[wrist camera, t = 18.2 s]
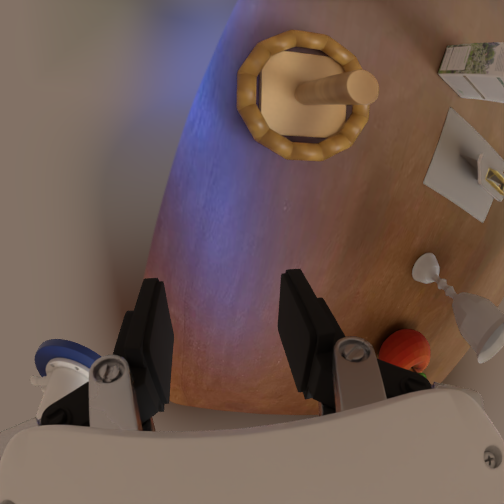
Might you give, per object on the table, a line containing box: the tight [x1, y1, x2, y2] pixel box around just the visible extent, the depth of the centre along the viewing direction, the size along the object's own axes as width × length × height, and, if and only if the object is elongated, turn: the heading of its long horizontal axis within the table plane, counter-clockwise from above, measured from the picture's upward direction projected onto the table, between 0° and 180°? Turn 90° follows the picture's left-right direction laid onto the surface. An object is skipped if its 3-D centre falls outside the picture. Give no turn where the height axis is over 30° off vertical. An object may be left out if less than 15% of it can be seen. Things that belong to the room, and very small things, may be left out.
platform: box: [423, 107, 504, 223], centre depth 30 cm, size 12×18×7 cm, turn 71°
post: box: [259, 51, 379, 138], centre depth 21 cm, size 9×9×13 cm
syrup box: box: [438, 42, 504, 103], centre depth 19 cm, size 6×6×14 cm
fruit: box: [379, 329, 430, 378], centre depth 41 cm, size 10×10×10 cm
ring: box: [237, 30, 370, 161], centre depth 25 cm, size 14×14×2 cm
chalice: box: [412, 253, 504, 363], centre depth 31 cm, size 7×7×18 cm
